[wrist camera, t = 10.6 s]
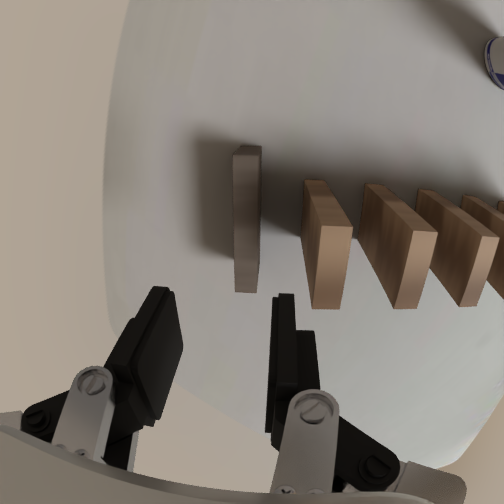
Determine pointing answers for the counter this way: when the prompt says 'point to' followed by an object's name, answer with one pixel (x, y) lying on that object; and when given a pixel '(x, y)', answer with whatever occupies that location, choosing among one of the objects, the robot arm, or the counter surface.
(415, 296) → the domino
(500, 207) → the domino
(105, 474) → the robot arm
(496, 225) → the domino
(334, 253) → the domino
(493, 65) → the energy drink
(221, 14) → the counter surface
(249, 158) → the domino
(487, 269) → the domino
